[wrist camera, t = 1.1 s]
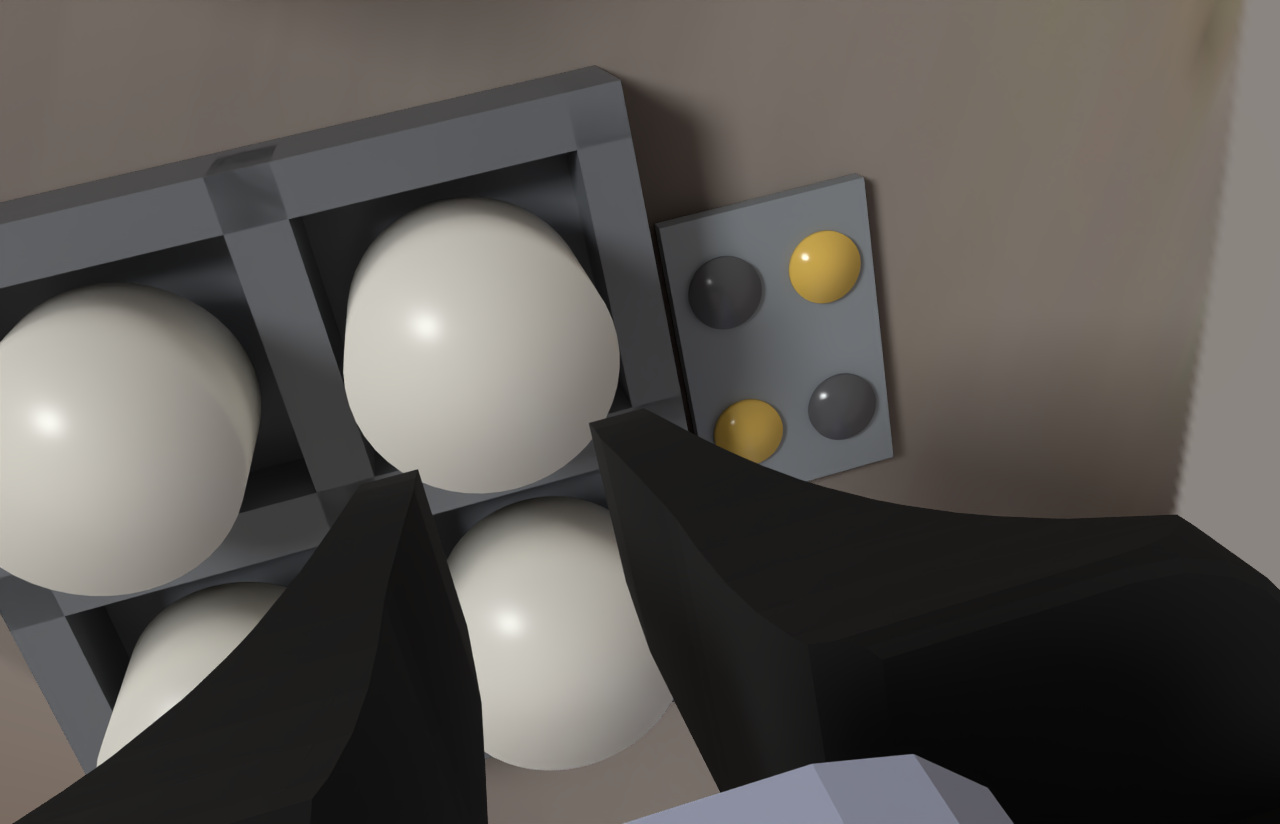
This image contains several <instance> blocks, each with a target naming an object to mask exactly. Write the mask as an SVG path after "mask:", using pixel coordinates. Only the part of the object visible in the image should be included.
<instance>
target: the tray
mask: <svg viewBox="0 0 1280 824" xmlns="http://www.w3.org/2000/svg"><path fill="white" fill-rule="evenodd" d="M470 196H474V197H485V198H492V199H496V200H501V201H505V202H508V203H511V204H514V205H516V206H519V207H521V208H523V209H525V210H527V211H529V212H531V213H533V214H535V215H536V216H537V217H539V218H540V219H542V220H543V221H545V222H546V223H547V224H548V225H550V226H551V227H552V228H553V229H554V230H555V231H556V232H557V233H558V234H559V235H560V236H561V237H562V238H563V240H564V241H565V242H566V243H567V245H568V246H569V247H570V249H571V250H572V252H573V254H574V255H575V257H576V258H577V260H578V262H579V263H580V265H581V266H582V268H583V269H584V271H585V273H586V274H587V276H588V277H589V279H590V280H591V282H592V284H593V285H594V287H595V288H596V290H597V292H598V293H599V295H600V296H601V298H602V300H603V301H604V303H605V304H606V306H607V309H608V311H609V313H610V315H611V318H612V320H613V323H614V327H615V330H616V334H617V338H618V345H619V352H620V370H619V377H618V385H617V389H616V392H615V396H614V400H613V402H612V405H611V407H610V410H609V412H608V414H607V417H606V418H609V417H613V416H616V415H620V414H624V413H628V412H631V411H635V410H639V409H642V408H644V409H646V410H649V411H651V412H653V413H655V414H657V415H659V416H660V417H662V418H664V419H666V420H668V421H670V422H672V423H674V424H676V425H677V426H679V427H681V428H683V429H685V430H687V431H688V428H687V422H686V417H685V412H684V407H683V402H682V396H681V391H680V386H679V381H678V376H677V370H676V365H675V360H674V355H673V350H672V344H671V339H670V334H669V329H668V324H667V318H666V313H665V308H664V303H663V298H662V292H661V287H660V282H659V277H658V272H657V266H656V261H655V256H654V251H653V246H652V240H651V235H650V230H649V225H648V220H647V214H646V209H645V204H644V199H643V194H642V188H641V183H640V178H639V173H638V168H637V162H636V157H635V152H634V147H633V142H632V136H631V131H630V126H629V121H628V116H627V110H626V105H625V100H624V95H623V90H622V84H621V80H620V79H618V78H616V77H615V76H613V75H611V74H609V73H608V72H606V71H604V70H603V69H601V68H599V67H597V66H596V65H595V66H590V67H586V68H582V69H577V70H573V71H569V72H564V73H560V74H556V75H551V76H547V77H543V78H538V79H534V80H530V81H525V82H521V83H517V84H512V85H508V86H504V87H499V88H495V89H491V90H486V91H482V92H478V93H473V94H469V95H465V96H460V97H456V98H452V99H447V100H443V101H439V102H434V103H430V104H426V105H421V106H417V107H413V108H408V109H404V110H400V111H395V112H391V113H387V114H382V115H378V116H374V117H369V118H365V119H361V120H356V121H352V122H348V123H343V124H339V125H335V126H330V127H326V128H322V129H317V130H313V131H309V132H304V133H300V134H296V135H291V136H287V137H283V138H278V139H274V140H270V141H265V142H261V143H257V144H252V145H248V146H244V147H239V148H235V149H231V150H226V151H222V152H218V153H213V154H209V155H205V156H200V157H196V158H192V159H187V160H183V161H179V162H174V163H170V164H166V165H161V166H157V167H153V168H148V169H144V170H140V171H135V172H131V173H127V174H122V175H118V176H114V177H109V178H105V179H101V180H96V181H92V182H88V183H83V184H79V185H75V186H70V187H66V188H62V189H57V190H53V191H49V192H44V193H40V194H36V195H31V196H27V197H23V198H18V199H14V200H10V201H5V202H1V203H0V342H1V341H2V340H3V339H4V337H5V336H6V335H7V334H8V333H9V332H10V331H11V330H12V329H13V328H14V327H15V325H16V324H17V323H18V322H19V321H20V320H21V319H22V318H23V317H24V316H25V315H27V314H28V313H29V312H30V311H31V310H32V309H34V308H35V307H37V306H38V305H40V304H41V303H43V302H44V301H46V300H48V299H49V298H52V297H54V296H56V295H58V294H60V293H62V292H65V291H68V290H71V289H75V288H78V287H81V286H87V285H92V284H98V283H115V282H119V283H135V284H141V285H146V286H152V287H156V288H159V289H163V290H166V291H169V292H172V293H174V294H177V295H179V296H181V297H184V298H186V299H188V300H190V301H192V302H193V303H195V304H197V305H199V306H200V307H202V308H204V309H205V310H206V311H208V312H209V313H210V314H212V315H213V316H215V317H216V318H217V319H218V320H219V321H220V322H221V323H222V324H224V325H225V326H226V327H227V328H228V329H229V330H230V331H231V333H232V334H233V335H234V336H235V337H236V339H237V340H238V341H239V342H240V344H241V345H242V347H243V349H244V350H245V352H246V353H247V355H248V357H249V359H250V361H251V363H252V365H253V368H254V370H255V373H256V376H257V379H258V383H259V387H260V394H261V420H260V426H259V432H258V436H257V440H256V445H255V449H254V453H253V458H252V462H251V467H250V471H249V475H248V480H247V484H246V488H245V493H244V497H243V501H242V504H241V507H240V510H239V514H238V516H237V518H236V520H235V522H234V524H233V526H232V528H231V530H230V532H229V533H228V535H227V536H226V538H225V539H224V541H223V542H222V543H221V545H220V546H219V547H218V548H217V549H216V550H215V551H214V552H213V553H212V554H211V555H210V556H209V557H208V558H207V559H206V560H205V561H203V562H202V563H201V564H200V565H198V566H197V567H196V568H194V569H193V570H191V571H189V572H188V573H186V574H185V575H183V576H181V577H179V578H177V579H175V580H173V581H171V582H169V583H167V584H164V585H161V586H158V587H155V588H152V589H149V590H145V591H141V592H136V593H132V594H124V595H115V596H86V595H76V594H69V593H64V592H59V591H55V590H51V589H47V588H44V587H41V586H38V585H35V584H32V583H30V582H28V581H25V580H23V579H21V578H19V577H16V576H14V575H13V574H11V573H9V572H7V571H6V570H4V569H2V568H0V613H1V615H2V617H3V619H4V621H5V623H6V625H7V627H8V628H9V630H10V632H11V634H12V636H13V638H14V640H15V642H16V644H17V645H18V647H19V649H20V651H21V653H22V655H23V657H24V659H25V661H26V662H27V664H28V666H29V668H30V670H31V672H32V674H33V676H34V678H35V679H36V681H37V683H38V685H39V687H40V689H41V691H42V693H43V695H44V696H45V698H46V700H47V702H48V704H49V706H50V708H51V710H52V712H53V714H54V715H55V717H56V719H57V721H58V723H59V725H60V726H61V729H62V731H63V732H64V734H65V736H66V738H67V740H68V742H69V744H70V746H71V748H72V749H73V751H74V753H75V755H76V757H77V759H78V761H79V762H80V765H81V766H82V768H83V770H84V772H85V774H88V773H89V772H91V771H92V770H93V769H95V768H96V767H97V759H98V755H99V752H100V749H101V745H102V742H103V739H104V736H105V733H106V730H107V727H108V724H109V721H110V718H111V715H112V712H113V709H114V706H115V704H116V701H117V698H118V695H119V692H120V689H121V686H122V683H123V680H124V677H125V674H126V671H127V668H128V665H129V662H130V659H131V656H132V653H133V650H134V647H135V645H136V643H137V641H138V639H139V637H140V636H141V634H142V633H143V631H144V630H145V628H146V627H147V625H148V624H149V623H150V622H151V621H152V620H153V619H154V618H155V617H156V616H157V615H158V614H159V613H160V612H162V611H163V610H164V609H165V608H166V607H168V606H169V605H171V604H172V603H174V602H176V601H177V600H179V599H180V598H182V597H184V596H187V595H189V594H191V593H193V592H195V591H198V590H201V589H204V588H207V587H211V586H215V585H220V584H224V583H234V582H262V583H271V584H276V585H280V586H284V587H288V586H289V585H290V583H291V582H292V581H293V580H294V578H295V577H296V576H297V575H298V574H299V572H300V571H301V570H302V568H303V567H304V565H305V564H306V563H307V561H308V560H309V558H310V557H311V555H312V554H313V553H314V551H315V550H316V548H317V547H318V546H319V544H320V543H321V541H322V540H323V539H324V537H325V536H326V534H327V533H328V532H329V530H330V529H331V527H332V526H333V524H334V523H335V521H336V520H337V518H338V517H339V515H340V514H341V512H342V511H343V509H344V508H345V506H346V505H347V503H348V502H349V500H350V499H351V497H352V496H353V494H354V493H355V492H356V490H357V489H358V488H359V486H360V485H361V484H365V483H368V482H372V481H376V480H379V479H383V478H387V477H391V476H394V475H398V474H402V473H403V472H401V471H400V470H398V469H397V468H396V467H394V466H393V465H392V464H390V463H389V462H387V461H386V460H385V459H384V458H383V457H382V456H381V455H380V454H379V453H378V452H377V451H376V450H375V449H374V448H373V446H372V445H371V444H370V443H369V441H368V440H367V439H366V438H365V436H364V435H363V433H362V431H361V429H360V428H359V426H358V424H357V423H356V421H355V418H354V416H353V413H352V411H351V409H350V406H349V402H348V398H347V395H346V391H345V383H344V374H343V368H344V347H345V333H346V318H347V303H348V296H349V291H350V285H351V282H352V279H353V276H354V273H355V270H356V268H357V266H358V264H359V262H360V260H361V258H362V256H363V255H364V253H365V252H366V250H367V249H368V247H369V246H370V244H371V243H372V242H373V241H374V240H375V239H376V238H377V236H378V235H379V234H380V233H381V232H382V231H383V230H384V229H385V228H387V227H388V226H389V225H390V224H391V223H393V222H394V221H395V220H397V219H398V218H400V217H401V216H403V215H404V214H406V213H408V212H409V211H411V210H414V209H416V208H418V207H420V206H422V205H425V204H428V203H431V202H434V201H438V200H442V199H448V198H453V197H470ZM422 483H423V482H422ZM423 487H424V490H425V493H426V496H427V499H428V503H429V506H430V509H431V512H432V515H433V518H434V522H435V525H436V528H437V531H438V534H439V538H440V541H441V544H442V547H443V550H444V554H445V557H446V560H447V559H448V557H449V555H450V553H451V552H452V550H453V548H454V547H455V546H456V544H457V543H458V542H459V540H460V539H461V538H462V537H463V536H464V535H465V534H466V533H467V532H468V531H469V529H470V528H472V527H473V526H474V525H475V524H477V523H478V522H479V521H480V520H482V519H483V518H485V517H486V516H488V515H489V514H491V513H493V512H494V511H496V510H498V509H500V508H503V507H505V506H507V505H510V504H512V503H515V502H518V501H521V500H526V499H531V498H535V497H545V496H565V497H572V498H579V499H582V500H586V501H590V502H593V503H595V504H597V505H600V506H602V507H604V508H606V509H608V510H609V508H608V504H607V499H606V495H605V491H604V486H603V482H602V478H601V474H600V469H599V465H598V461H597V457H596V452H595V448H594V444H593V440H591V441H590V442H589V444H588V445H587V446H586V447H585V448H584V449H583V450H582V451H581V452H580V453H579V454H578V455H577V456H576V457H575V458H573V459H572V460H571V461H570V462H568V463H567V464H566V465H565V466H563V467H562V468H560V469H559V470H557V471H555V472H554V473H552V474H551V475H549V476H547V477H545V478H543V479H541V480H539V481H536V482H534V483H532V484H529V485H526V486H523V487H520V488H517V489H512V490H507V491H502V492H494V493H484V494H480V493H461V492H454V491H448V490H444V489H440V488H436V487H433V486H430V485H428V484H425V483H423ZM672 702H674V699H673V700H672ZM484 754H485V759H486V758H490V757H492V756H491V755H489V754H487V753H486V752H484Z"/></svg>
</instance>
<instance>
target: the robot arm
mask: <svg viewBox="0 0 1280 824" xmlns="http://www.w3.org/2000/svg"><path fill="white" fill-rule="evenodd" d="M589 427H590V431H591V435H592V440H593V444H594V448H595V452H596V457H597V461H598V465H599V469H600V474H601V478H602V482H603V486H604V491H605V495H606V499H607V504H608V508H609V512H610V516H611V521H612V525H613V529H614V533H615V538H616V542H617V546H618V551H619V555H620V559H621V563H622V568H623V572H624V576H625V580H626V584H627V586H628V589H629V592H630V595H631V598H632V601H633V604H634V607H635V610H636V613H637V616H638V619H639V622H640V625H641V627H642V630H643V633H644V636H645V639H646V642H647V644H648V647H649V650H650V653H651V655H652V657H653V659H654V661H655V663H656V665H657V667H658V669H659V671H660V673H661V675H662V677H663V679H664V681H665V683H666V685H667V687H668V689H669V691H670V693H671V695H672V697H673V699H674V701H675V703H676V705H677V707H678V709H679V711H680V713H681V715H682V717H683V719H684V721H685V723H686V725H687V727H688V729H689V731H690V733H691V735H692V737H693V739H694V741H695V743H696V745H697V747H698V749H699V751H700V753H701V755H702V757H703V759H704V761H705V763H706V765H707V767H708V769H709V771H710V773H711V775H712V777H713V779H714V781H715V783H716V785H717V787H718V789H719V791H720V793H718V794H715V795H712V796H709V797H706V798H702V799H699V800H696V801H693V802H690V803H687V804H683V805H680V806H677V807H674V808H671V809H668V810H664V811H661V812H658V813H655V814H652V815H649V816H645V817H642V818H639V819H636V820H633V821H630V822H626V823H623V824H1280V590H1279V589H1278V588H1277V587H1276V586H1275V585H1274V584H1273V583H1272V582H1271V581H1270V580H1269V579H1268V578H1267V577H1265V576H1264V575H1262V574H1261V573H1259V572H1258V571H1257V570H1256V569H1254V568H1253V567H1251V566H1250V565H1248V564H1247V563H1246V562H1244V561H1243V560H1241V559H1240V558H1239V557H1237V556H1236V555H1235V554H1233V553H1231V552H1230V551H1229V550H1228V549H1226V548H1225V547H1223V546H1222V545H1220V544H1219V543H1217V542H1216V541H1215V540H1213V539H1212V538H1211V537H1209V536H1208V535H1207V534H1205V533H1204V532H1202V531H1201V530H1199V529H1198V528H1197V527H1195V526H1194V525H1192V524H1191V523H1189V522H1188V521H1186V520H1185V519H1183V518H1182V517H1180V516H1178V515H1158V516H1132V517H1106V518H1079V519H1049V518H1024V517H1000V516H987V515H975V514H964V513H954V512H947V511H940V510H933V509H926V508H919V507H912V506H905V505H899V504H894V503H889V502H884V501H879V500H874V499H869V498H865V497H861V496H858V495H854V494H850V493H846V492H842V491H838V490H834V489H830V488H826V487H823V486H819V485H816V484H813V483H810V482H806V481H803V480H800V479H798V478H795V477H792V476H789V475H787V474H784V473H781V472H779V471H776V470H773V469H771V468H768V467H765V466H762V465H760V464H758V463H755V462H753V461H750V460H748V459H746V458H743V457H741V456H739V455H737V454H734V453H732V452H730V451H728V450H726V449H723V448H721V447H719V446H717V445H715V444H713V443H711V442H709V441H707V440H705V439H703V438H701V437H699V436H697V435H695V434H693V433H691V432H689V431H687V430H685V429H683V428H681V427H679V426H677V425H676V424H674V423H672V422H670V421H668V420H666V419H664V418H662V417H660V416H659V415H657V414H655V413H653V412H651V411H649V410H646V409H644V408H642V409H639V410H635V411H631V412H628V413H624V414H620V415H616V416H613V417H609V418H605V419H602V420H598V421H594V422H590V423H589ZM13 824H488V815H487V794H486V774H485V754H484V736H483V718H482V702H481V696H480V691H479V685H478V680H477V674H476V669H475V664H474V658H473V653H472V648H471V643H470V638H469V632H468V627H467V624H466V621H465V617H464V614H463V611H462V608H461V605H460V601H459V598H458V595H457V592H456V589H455V585H454V582H453V579H452V576H451V573H450V570H449V566H448V563H447V560H446V557H445V554H444V550H443V547H442V544H441V541H440V538H439V534H438V531H437V528H436V525H435V522H434V518H433V515H432V512H431V509H430V506H429V503H428V499H427V496H426V493H425V490H424V487H423V483H422V480H421V477H420V474H419V471H418V469H416V470H413V471H409V472H405V473H402V474H398V475H394V476H391V477H387V478H383V479H379V480H376V481H372V482H368V483H365V484H361V485H360V486H359V488H358V489H357V490H356V492H355V493H354V494H353V496H352V497H351V499H350V500H349V502H348V503H347V505H346V506H345V508H344V509H343V511H342V512H341V514H340V515H339V517H338V518H337V520H336V521H335V523H334V524H333V526H332V527H331V529H330V530H329V532H328V533H327V534H326V536H325V537H324V539H323V540H322V541H321V543H320V544H319V546H318V547H317V548H316V550H315V551H314V553H313V554H312V555H311V557H310V558H309V560H308V561H307V563H306V564H305V565H304V567H303V568H302V570H301V571H300V572H299V574H298V575H297V576H296V577H295V578H294V580H293V581H292V582H291V583H290V585H289V586H288V587H287V588H286V589H285V591H284V592H283V593H282V594H281V596H280V597H279V598H278V599H277V601H276V602H275V603H274V604H273V605H272V607H271V608H270V609H269V610H268V612H267V613H266V614H265V615H264V616H263V618H262V619H261V620H260V621H259V623H258V624H257V625H256V626H255V627H254V628H253V630H252V631H251V632H250V633H249V634H248V635H247V636H246V637H245V638H244V640H243V641H242V642H241V643H240V644H239V645H238V646H237V647H236V648H235V649H234V650H233V651H232V652H231V653H230V654H229V655H228V656H227V657H226V658H225V659H224V660H223V661H222V662H221V663H220V664H219V665H218V666H217V667H216V668H215V669H214V670H213V671H212V672H211V673H210V674H209V675H208V676H207V677H206V678H205V679H203V680H202V681H201V682H200V683H199V684H198V685H197V686H196V687H195V688H194V689H193V690H192V691H191V692H190V693H189V694H187V695H186V696H185V697H184V698H183V699H182V700H181V701H180V702H178V703H177V704H176V705H175V706H173V707H172V708H171V709H170V710H168V711H167V712H166V713H165V714H163V715H162V716H161V717H160V718H159V719H157V720H156V721H155V722H154V723H152V724H151V725H150V726H149V727H147V728H146V729H145V730H144V731H142V732H141V733H140V734H139V735H138V736H136V737H135V738H134V739H133V740H131V741H130V742H129V743H128V744H126V745H125V746H124V747H123V748H121V749H120V750H119V751H118V752H117V753H115V754H114V755H113V756H111V757H110V758H109V759H107V760H106V761H105V762H103V763H102V764H101V765H99V766H98V767H96V768H95V769H93V770H92V771H91V772H89V773H88V774H86V775H85V776H84V777H82V778H81V779H79V780H78V781H77V782H75V783H74V784H72V785H71V786H70V787H68V788H66V789H65V790H64V791H62V792H61V793H59V794H58V795H56V796H54V797H53V798H51V799H50V800H48V801H47V802H45V803H44V804H42V805H41V806H39V807H38V808H36V809H35V810H33V811H31V812H30V813H28V814H27V815H25V816H24V817H22V818H21V819H19V820H18V821H16V822H15V823H13Z"/></svg>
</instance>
